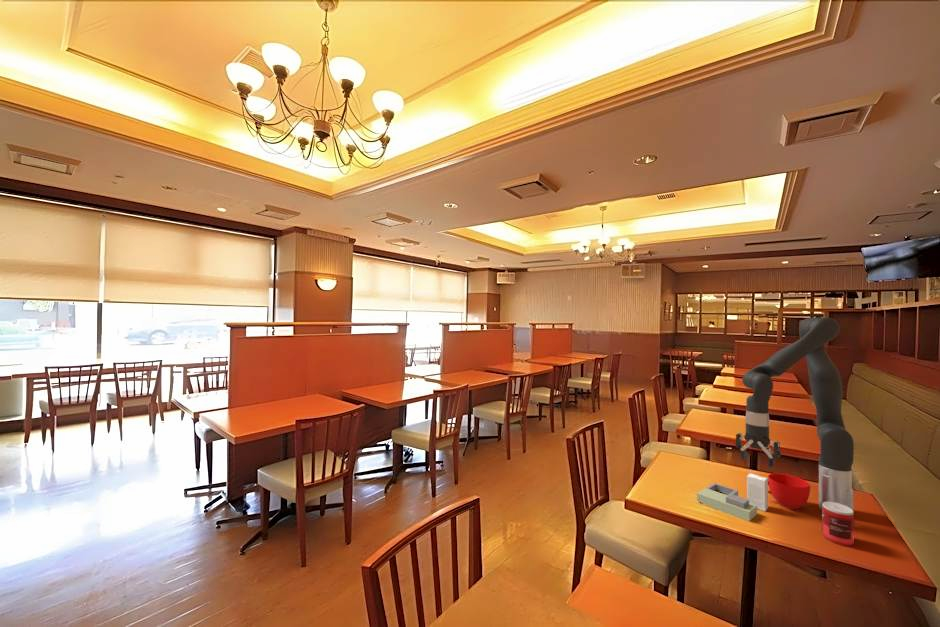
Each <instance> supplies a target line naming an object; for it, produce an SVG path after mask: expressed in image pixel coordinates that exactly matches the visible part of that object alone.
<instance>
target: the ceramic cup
mask: <svg viewBox="0 0 940 627" xmlns="http://www.w3.org/2000/svg"><path fill="white" fill-rule="evenodd" d="M767 478H768V489H769V490H768V494H770V495H771V496H772V497H773V498H774V500H775V501H776V502H777V503H778V504H779V506H782V507H784V508H787V509H791V510H798V509H800V508H802V507H803V506H804V505H805V504H807V502H808V500H809V498H810V494H811V484H810V483H809V482H808V481H807V480H806V479H803V478H800V477H798V476H795V475H790V474H785V473H779V472H778V473H776V472H773V473H770V474H768V475H767Z"/></svg>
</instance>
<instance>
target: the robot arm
mask: <svg viewBox="0 0 940 627" xmlns="http://www.w3.org/2000/svg"><path fill="white" fill-rule="evenodd" d="M840 329H841V328H840V324H839V322H838V321H836V320H835V319H834V318H831V317H821V316H820V317H808V318H804V319H803V320H801V322H800V323H799V326H798V332H799V337H800V338H799V339H798V340H796V341H795V342H792V343H790V344H788V345H787V346H784V347H783V348H781V349H779V350H777V351H776V352H775V353H774V354H772V355H770V357H769V358H768V359H766V360H765V361H764V362H763V363H760V364H758V365H756V366H755V367H752V368H751V369H749V370H748V371H747V372H746V373H744V375H743V377H742V383H743V385H744V386H745V387H746V388H748V389H750V390H753V392H752V395H749V396H747V397H746V408H745V409H746V411H745V434H743V433H741V432H739V433H736V435H735V445H734V446H735V448H736V449H739V450H740V459H741V460H742V461H747V459H748V458H747V456H748V453H747V451H748V450H747V449H748V448H752V449H757V450H761V451H763V452H764V453H765V454H766V455H767V456H768V458H767V460H768V461H767V464H768V465H767V466H768V468H770V469H771V468H773V467H774V466H775V459H778V458H780V457H781V445H780V441H779V440H776V441H774V440H773V441H772V440H771V439H770V415H769V414H770V413H769V402H770V399H771V396H772V394H773V390H774V382H773V379H772V378H773V377H781V376H782V375H783V374H784V373H785V372H787V371H788V370H789V369H790V368H792V367H793V366H794V365H795V364H797V363H798V362H799V361H800V360H802V359H803V358H804V357H805V360H806V366H807V372H808V380H809V386H810V390H811V395H812V399H813V403H814V406H815V410H816V411H815V412H816V433H817V437H818V439H819V441H820V456H819V457H818V508H819V509H820V510H821V511H822V504H823V502H835V503H839V504H842V505H845V506H847V507H849V508H851V509H852V510H853V511H854V488H852V482H853V481H852V474H853V473H852V472H853V471H852V470H853V469H852V468H853V464H854V449H855V447H854V446H855V445H854V438H853V436H852V435H851V433H850V432H849V431H848V430H847V429H846V426H845V423H844V422H845V421H844V419H843V415H842V414H843V413H842V402H843V395H844V394H843V392H844V391H843V382H842V378H841V373H840V371H839V370H838V368H837V367H836V365H835V364H834V362H833V361H832V359H830V357H829V355H828V353H827V351H826V347H825V344H826V343H829V342H831V341H832V340H833V339H835V338H836V337H837V336H838V335H839V333H840V331H841V330H840ZM742 440H745V441H746V443H745V444H744V445H742ZM770 444H771V446H772V448H773V451H772V449H771V448H770V446H769V445H770Z"/></svg>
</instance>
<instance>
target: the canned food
mask: <svg viewBox="0 0 940 627" xmlns="http://www.w3.org/2000/svg"><path fill="white" fill-rule="evenodd" d="M821 520H822V521H821V524H822V525H821V526H822V527H821V529H822V530H821V532H822V535H823V537H824V538H825V539H826V540H827V541H830V542H831V543H834V544H836V545H840V546H844V547H850V546H853V545H854V542H855V539H854V538H855V514H854V509H853V510H852V509H851V508H849V507H847V506H845V505H842V504H839V503H835V502H823V504H822V510H821Z"/></svg>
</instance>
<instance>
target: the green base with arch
mask: <svg viewBox="0 0 940 627" xmlns="http://www.w3.org/2000/svg"><path fill="white" fill-rule="evenodd" d="M715 490H717V491H719V492H717V491H715ZM720 492H722V493H720ZM723 493H724V494H723ZM726 494H727V495H726ZM697 501H698V502H701V503H703V504H702V505H704V504H705V505H704V506H706V505H708V506H707V507H709V506H710V507H709V508H712V507H713V508H712V509H714V510H717V509H718V510H717V511H720V512H723V513H725V514H728V515H731V516H734V517H736V518H739V519H742V520H745V521H746V522H751V521H752V520H753V519H754V518H755V517H756V516H757V515H758V509H757V505H754V504H751V503H749V500H748V499H747V498H746V497H742V496H739V490H737V489H734V488H731V487H728V486H725V485H722V484H720V483H717V482H714V483H711V484H710V485H708V486H707V487H705V488H703V489H702V490H700V491H699V492H697V493H696V502H697ZM698 502H697V503H698ZM701 503H700V504H701Z"/></svg>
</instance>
